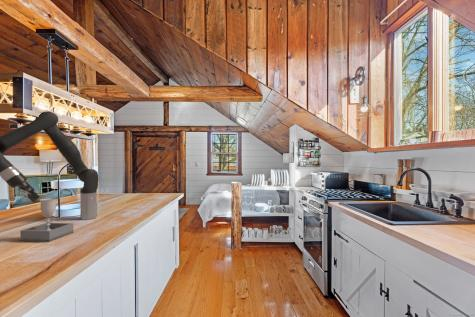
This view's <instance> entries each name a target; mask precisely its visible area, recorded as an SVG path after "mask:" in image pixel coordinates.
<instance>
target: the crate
mask: <svg viewBox="0 0 475 317" xmlns="http://www.w3.org/2000/svg"><path fill="white" fill-rule="evenodd" d="M49 224H50V226H49V229H51V230H50V231H44V230H46V229H47V226H46V225H47V222H46V223H42V224H39V225H35V226H31V227H28V228H25V229H21V230H20V232H19V234H20V235H19V237H20V238H19V239H20V242H40V243H41V242H45V243H46V242H47V243H49V242H50V243H51V242H52V241H56V240H58V239H61V238H63V237H66V236H68V235H70V234H73V233H74V223H73V222H71V223H70V222H49Z"/></svg>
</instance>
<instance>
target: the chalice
mask: <svg viewBox="0 0 475 317" xmlns="http://www.w3.org/2000/svg"><path fill="white" fill-rule="evenodd" d="M57 200H58V198H56V197H54V198H53V197H52V198H51V197H48V198H42V199H40V198H39V202H40V211H41V214H42V216H43V217H44V218H46V223H47V225H46V226H47V229H46V230H44V231H50V230H51V229H49V226H50V224H49V223H51V220H50V219H51V217H53V215H54V214H55V211H56V209H57Z"/></svg>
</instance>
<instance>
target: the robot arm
mask: <svg viewBox="0 0 475 317" xmlns="http://www.w3.org/2000/svg"><path fill="white" fill-rule="evenodd" d="M41 112H42V113H41ZM41 112H40V113H41V114H40V115H39V117H36V116H35V117H34V118H35V119H34V120H32V121H30V122H28V123H27V124H24V125H23V126H20V127H16V128H15V129H12V130H10V131H8V132H7V133H5V134H3V135H1V136H0V178H1V179H2V180H3V181H4V182H5V183H6V184H7V185H9V186H10V187H11V188H13V189H14V188H17V189H18V191H19V192H20V194H22V195H23V196H24V197H25V198H28V199H29V200H30V201H31V203H35V202H37V201H38V199H40V197H41V196H40V195H39V194H38V193H37V192H36V190H35V188H33V187H32V186H31V184H30V183H28V178H27V177H26V176H25V175H24V173H22V172H21V171H20V170H19V169H18V168H17V167H16V166H14V165H13V164H12V163H11V162H10V161H9V160H8V159H7V158H6V157H5V156H4V155H3V154H4V153H5V152H6V151H8V150H9V149H11V148H13V147H14V146H17V145H19V144H20V143H22V142H23V141H25V140H27V139H29V138H30V137H33V135H36V134H38V133H40V132H41V131H44V133H45V134H46V135H47V136H48V137H49V138H50V140H51V141H52V143H53V145H54V146H55V147H56V148H57V150H58V152H59V153H60V154H61V155H62V157H63V158H64V159H65V160H66V161H67V163H68V164H69V165H70V166H71V168H72V170H73V171H74V172H75V174H76V176H77V178H78V179H79V181H81V182H82V183H83V187H82V188H80V204H79V205H80V210H79V211H80V214H79V215H80V220H81V221H83V220H85V221H86V220H94V219H97V217H98V203H97V197H98V196H97V193H98V192H97V190H98V188H99V173H98V171H97V170H95V169H93V168H88V166H86V164H85V163H84V162H83V160H82V156H81V152H80V150H79V148H78V147H77V145H76V144H75V142H74V141H73V140H71V138H70V137H68V135H66V134H65V133H64V132H63V131H62V130H61V129H60V128H59V126H58V123H59V117H58V115H57V114H56V113H54V112H52V111H41Z"/></svg>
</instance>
